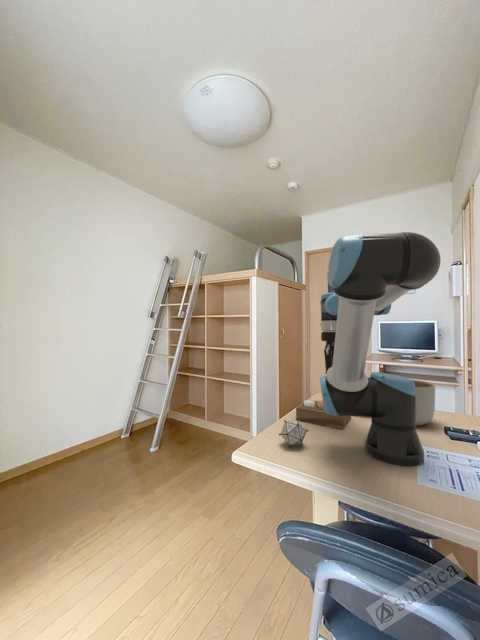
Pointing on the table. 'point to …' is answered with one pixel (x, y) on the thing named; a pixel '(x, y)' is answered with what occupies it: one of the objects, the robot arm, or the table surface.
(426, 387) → the planter
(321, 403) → the terracotta plug
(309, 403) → the far grey plug
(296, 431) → the game die
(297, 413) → the walnut block
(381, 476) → the table surface
